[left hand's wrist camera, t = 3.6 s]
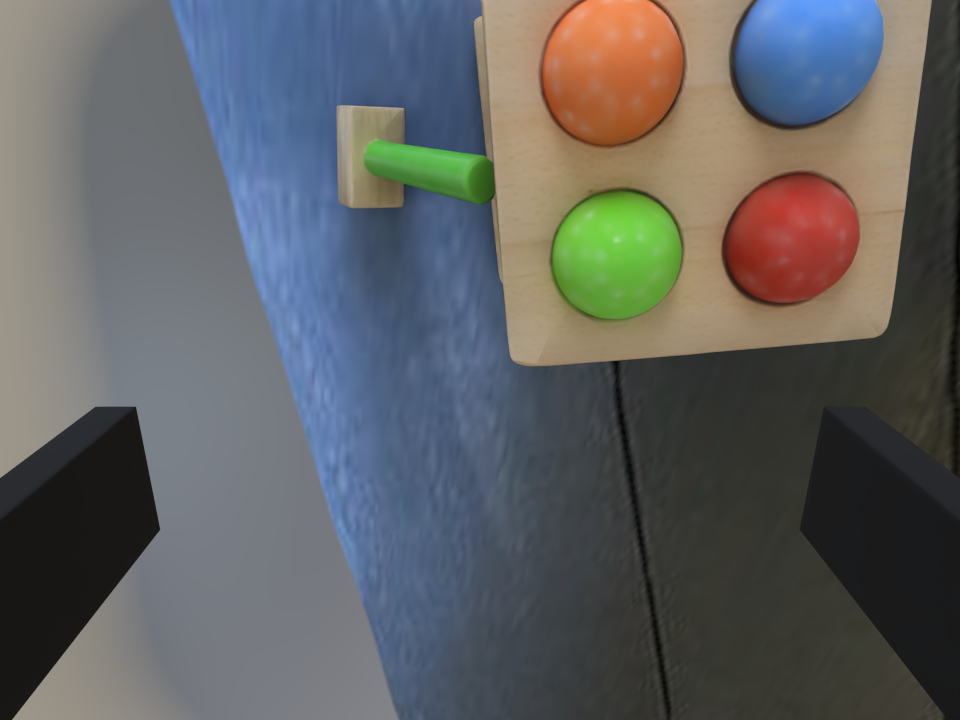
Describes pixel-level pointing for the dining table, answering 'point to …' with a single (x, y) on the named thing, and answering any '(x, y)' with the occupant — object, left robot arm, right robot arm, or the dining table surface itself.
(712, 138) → the pounding bench toy
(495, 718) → the dining table surface
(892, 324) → the dining table surface
